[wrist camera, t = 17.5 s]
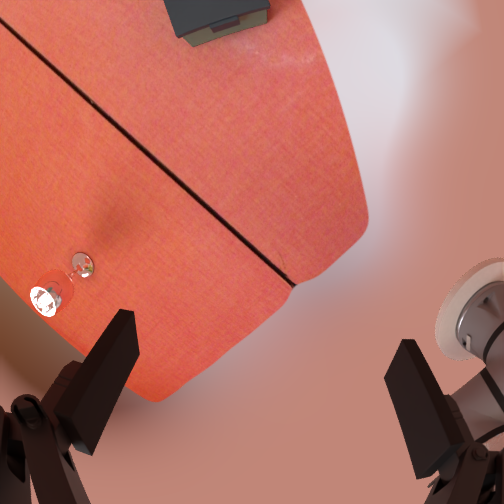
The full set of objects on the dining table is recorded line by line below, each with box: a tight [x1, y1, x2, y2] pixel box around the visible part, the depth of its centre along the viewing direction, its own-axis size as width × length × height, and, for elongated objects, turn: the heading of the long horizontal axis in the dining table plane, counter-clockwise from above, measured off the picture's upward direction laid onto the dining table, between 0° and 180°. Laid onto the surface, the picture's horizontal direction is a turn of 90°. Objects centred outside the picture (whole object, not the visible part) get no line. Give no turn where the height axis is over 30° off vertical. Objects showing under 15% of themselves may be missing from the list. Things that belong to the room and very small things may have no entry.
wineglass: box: [31, 253, 94, 316], centre depth 40 cm, size 6×6×12 cm
